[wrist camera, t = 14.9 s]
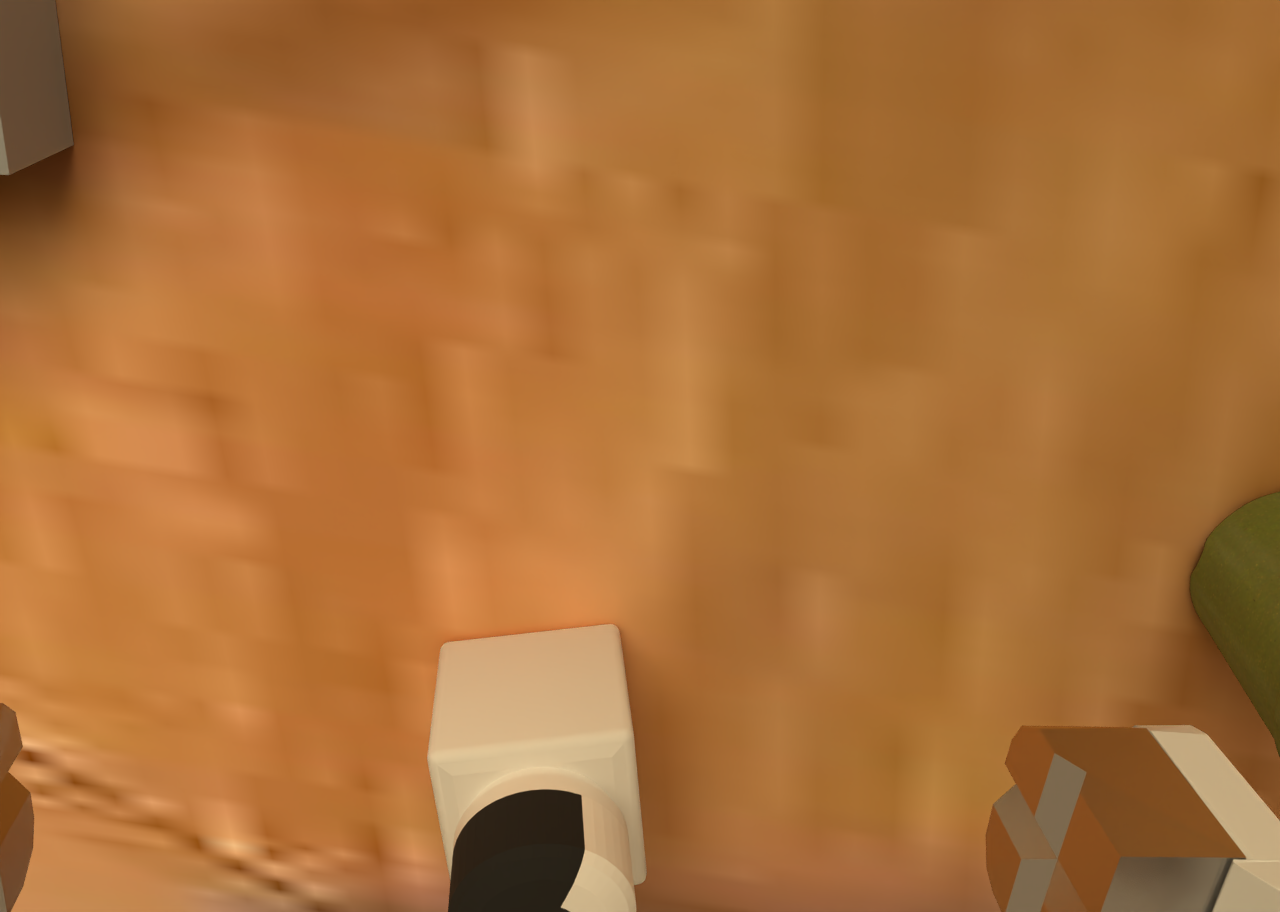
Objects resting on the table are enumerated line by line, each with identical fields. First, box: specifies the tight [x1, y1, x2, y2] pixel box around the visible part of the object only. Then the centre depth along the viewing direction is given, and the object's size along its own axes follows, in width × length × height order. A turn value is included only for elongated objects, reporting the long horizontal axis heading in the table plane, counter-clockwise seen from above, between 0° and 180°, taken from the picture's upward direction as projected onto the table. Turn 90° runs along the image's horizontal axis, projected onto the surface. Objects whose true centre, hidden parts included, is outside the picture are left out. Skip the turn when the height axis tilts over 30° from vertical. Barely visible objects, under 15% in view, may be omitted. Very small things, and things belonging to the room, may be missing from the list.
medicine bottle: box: [427, 624, 647, 912], centre depth 41 cm, size 7×7×12 cm
